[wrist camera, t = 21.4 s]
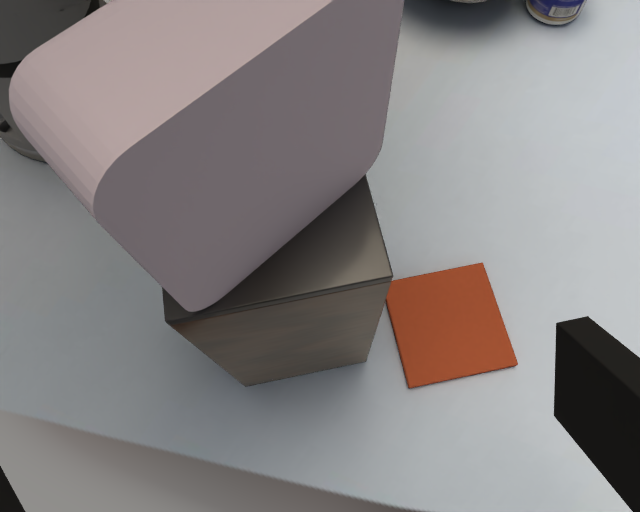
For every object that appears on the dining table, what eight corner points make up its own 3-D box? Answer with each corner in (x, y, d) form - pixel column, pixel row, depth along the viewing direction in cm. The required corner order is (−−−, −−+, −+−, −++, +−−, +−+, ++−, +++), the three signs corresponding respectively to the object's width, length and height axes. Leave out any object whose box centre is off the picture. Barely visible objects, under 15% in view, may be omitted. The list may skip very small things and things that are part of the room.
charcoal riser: (244, 386, 37) (164, 322, 19) (228, 272, 40) (147, 130, 23) (366, 361, 37) (393, 276, 20) (340, 250, 40) (344, 94, 23)
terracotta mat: (408, 388, 36) (409, 387, 36) (381, 285, 39) (382, 282, 39) (515, 365, 37) (518, 364, 36) (480, 265, 40) (482, 262, 39)
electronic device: (305, 100, 23) (286, -142, 14) (379, 163, 22) (413, -58, 12) (125, 239, 21) (-45, 60, 11) (196, 320, 19) (67, 192, 10)
